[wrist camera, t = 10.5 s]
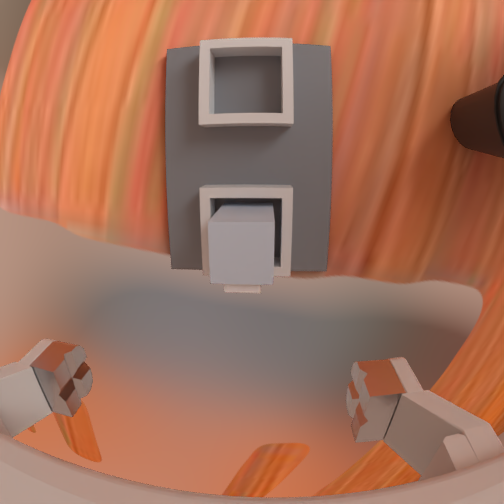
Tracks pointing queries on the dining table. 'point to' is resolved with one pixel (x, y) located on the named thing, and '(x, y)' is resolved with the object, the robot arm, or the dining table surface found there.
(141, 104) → the dining table surface
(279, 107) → the panel
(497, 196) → the dining table surface
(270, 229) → the plug
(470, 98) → the coffee cup
